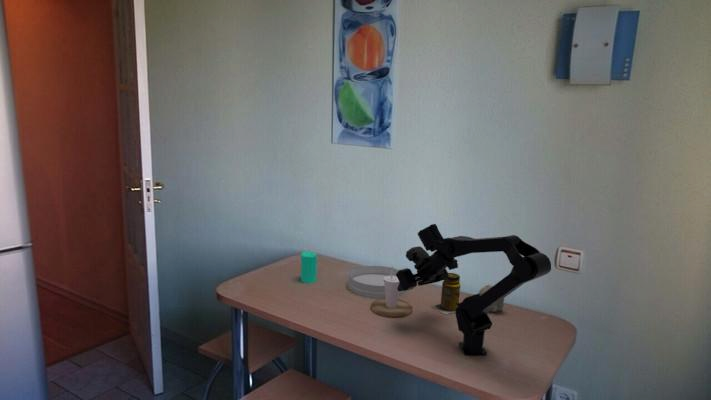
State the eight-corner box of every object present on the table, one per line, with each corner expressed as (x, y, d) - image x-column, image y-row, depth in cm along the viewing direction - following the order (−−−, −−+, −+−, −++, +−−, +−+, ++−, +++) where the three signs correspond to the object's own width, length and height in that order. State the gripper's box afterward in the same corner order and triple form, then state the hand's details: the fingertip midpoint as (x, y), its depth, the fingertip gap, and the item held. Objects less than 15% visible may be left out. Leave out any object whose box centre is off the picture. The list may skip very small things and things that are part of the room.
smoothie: (378, 304, 169) (380, 264, 167) (393, 300, 173) (396, 262, 170) (388, 311, 164) (391, 270, 161) (404, 307, 167) (407, 268, 164)
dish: (393, 304, 174) (394, 290, 173) (337, 291, 183) (338, 278, 182) (414, 284, 193) (415, 272, 192) (363, 273, 203) (363, 262, 202)
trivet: (415, 318, 162) (415, 314, 162) (372, 317, 161) (373, 314, 161) (408, 301, 176) (408, 298, 176) (368, 300, 175) (368, 297, 175)
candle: (298, 278, 193) (299, 248, 191) (313, 276, 196) (314, 247, 193) (303, 283, 188) (304, 253, 186) (318, 282, 190) (319, 251, 188)
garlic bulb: (500, 320, 169) (510, 298, 164) (476, 314, 170) (485, 292, 165) (497, 301, 177) (506, 280, 173) (474, 296, 178) (482, 274, 173)
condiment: (463, 310, 171) (466, 276, 168) (445, 314, 166) (448, 280, 164) (448, 302, 176) (451, 270, 174) (430, 307, 172) (433, 273, 169)
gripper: (443, 236, 160) (416, 260, 170) (401, 245, 148) (375, 270, 159) (461, 266, 155) (432, 289, 166) (419, 278, 144) (391, 302, 154)
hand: (408, 287), depth 161 cm, fingers open, 9 cm apart
